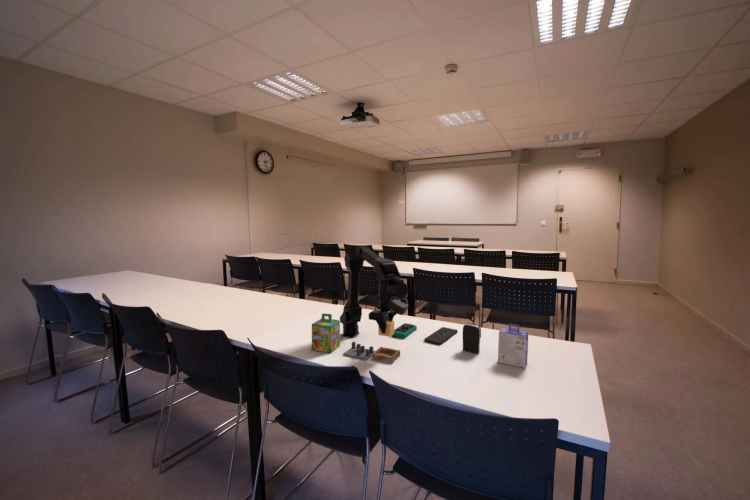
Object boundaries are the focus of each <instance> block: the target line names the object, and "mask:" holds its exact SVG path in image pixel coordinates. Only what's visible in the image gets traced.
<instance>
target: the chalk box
mask: <svg viewBox="0 0 750 500" xmlns="http://www.w3.org/2000/svg"><path fill="white" fill-rule="evenodd" d="M325 317H326V318H325ZM340 346H341V322H340V319H333V315H332V314H331V313H321V318H320V319H318V320H316V321H315V322H313V323H312V324H311V351H314V352H321V353H327V354H331V353H333V352H334V351H335V350H337V348H339V347H340Z"/></svg>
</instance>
